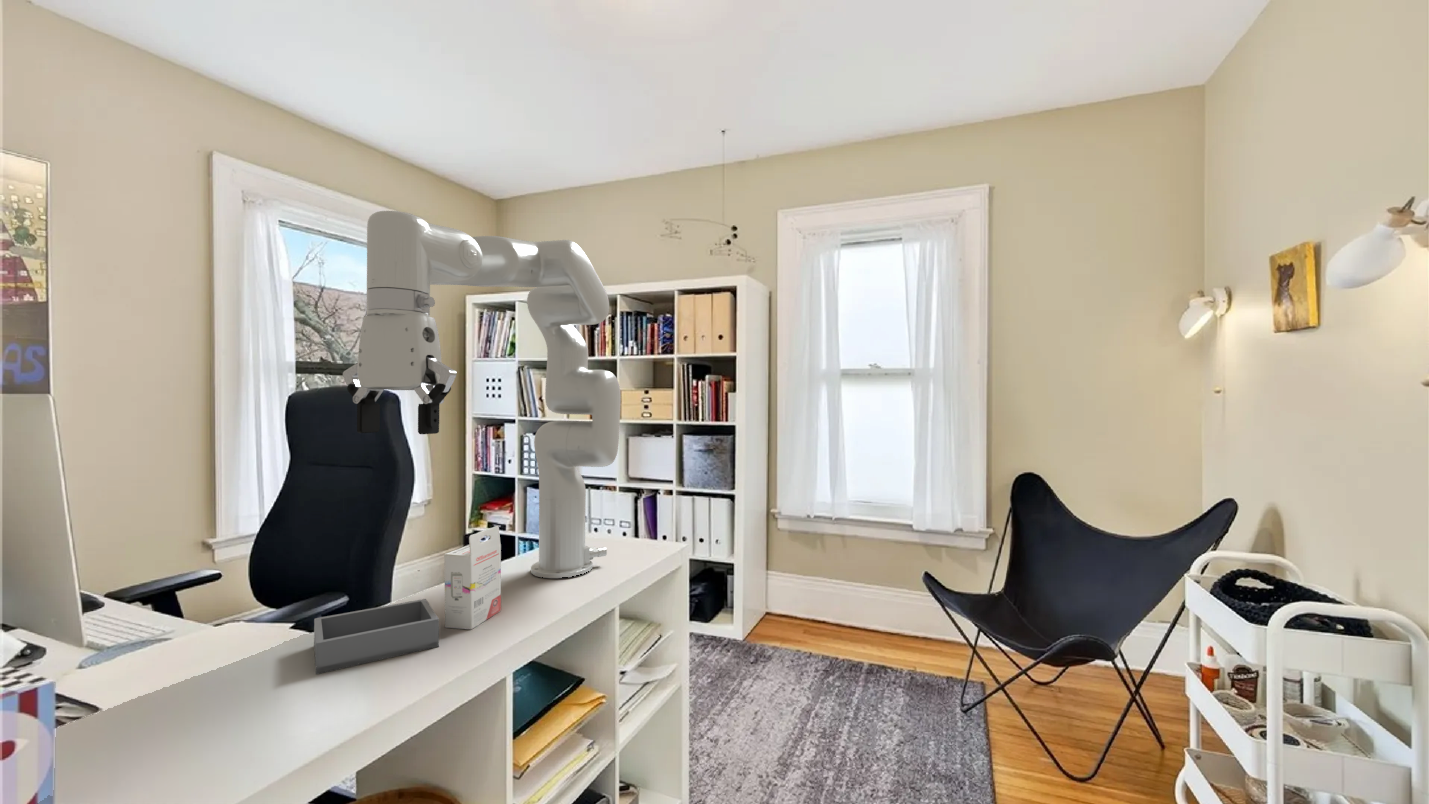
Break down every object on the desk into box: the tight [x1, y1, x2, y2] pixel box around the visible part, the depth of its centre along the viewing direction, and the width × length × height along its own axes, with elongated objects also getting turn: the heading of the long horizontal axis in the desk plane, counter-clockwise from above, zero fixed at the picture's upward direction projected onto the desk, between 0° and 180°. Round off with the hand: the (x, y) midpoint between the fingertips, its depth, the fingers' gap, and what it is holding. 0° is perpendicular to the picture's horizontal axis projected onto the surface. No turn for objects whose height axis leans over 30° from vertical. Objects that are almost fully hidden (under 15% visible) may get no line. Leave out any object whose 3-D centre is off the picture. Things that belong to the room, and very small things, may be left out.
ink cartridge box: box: [443, 525, 502, 630], centre depth 94 cm, size 9×5×15 cm, turn 168°
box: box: [313, 598, 440, 675], centre depth 83 cm, size 15×11×4 cm
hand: (398, 433), depth 78 cm, fingers open, 9 cm apart
